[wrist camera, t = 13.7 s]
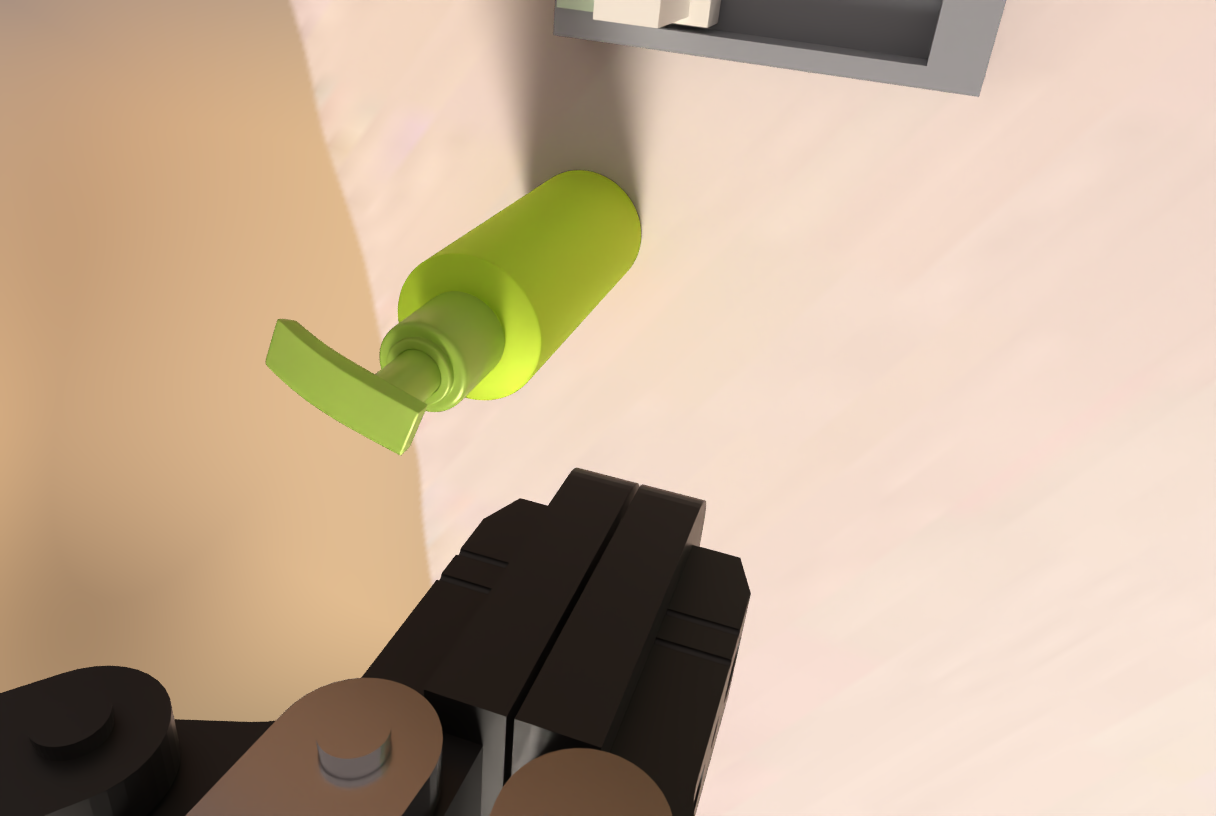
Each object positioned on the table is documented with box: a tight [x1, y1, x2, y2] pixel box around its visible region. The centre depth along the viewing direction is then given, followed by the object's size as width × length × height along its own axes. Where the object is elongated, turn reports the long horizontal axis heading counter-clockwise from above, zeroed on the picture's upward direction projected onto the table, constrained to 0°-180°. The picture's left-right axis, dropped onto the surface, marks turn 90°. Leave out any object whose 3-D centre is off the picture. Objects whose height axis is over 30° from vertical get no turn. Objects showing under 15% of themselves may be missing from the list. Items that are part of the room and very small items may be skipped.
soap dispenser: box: [266, 170, 641, 455], centre depth 36 cm, size 6×7×20 cm
